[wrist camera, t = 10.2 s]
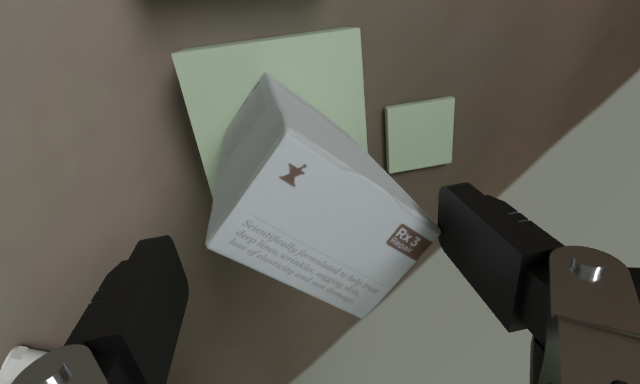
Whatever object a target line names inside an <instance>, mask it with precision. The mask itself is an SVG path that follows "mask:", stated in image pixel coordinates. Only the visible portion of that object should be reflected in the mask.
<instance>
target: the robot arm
mask: <svg viewBox="0 0 640 384" xmlns="http://www.w3.org/2000/svg"><path fill="white" fill-rule="evenodd" d="M438 227H439V228H440V230H441V234H440V235H439V237H438V238H439V242H440V245H441V247H442V249H443V250H444V252H445V253H446V254H447V256H448V257H449V258H450V259H451V261H452V262H453V263H454V264H455V266H456V267H457V268H458V269H459V270H460V272H461V273H462V274H463V276H464V277H465V278H466V279H467V281H468V282H469V283H470V284H471V286H472V287H473V288H474V289H475V291H476V292H477V293H478V294H479V296H480V297H481V298H482V299H483V301H484V302H485V303H486V304H487V306H488V307H489V308H490V309H491V311H492V312H493V313H494V314H495V316H496V317H497V318H498V319H499V321H500V322H501V323H502V324H503V326H504V327H505V328H506V330H507V331H508V332H514V331H518V330H523V329H528V330H529V331H530V332H531V333H532V334H533V336H532V341H531V352H530V384H640V268H628V267H626V266H625V265H624V264H623V263H622V262H621V261H620V260H618V259H617V258H615V257H613V256H612V255H610V254H607V253H605V252H603V251H600V250H597V249H593V248H589V247H583V246H564V245H563V244H561V243H560V242H559V241H557V240H556V239H554V238H553V237H552V236H550V235H549V234H548V233H546V232H545V231H544V230H542V229H541V228H540V227H538V226H537V225H536V224H534V223H533V222H532V221H528V219H527V218H526V217H525V216H524V215H522V214H521V213H518V212H517V210H515V209H514V208H512V207H511V206H510V205H509V204H507V203H506V202H504V201H502V200H499V199H497V198H494V197H491V196H489V195H484V194H482V193H481V192H480V191H479V190H477V189H476V188H475V187H473V186H472V185H471V184H469V183H460V184H455V185H449V186H444V187H442V188H441V189H440V191H439V204H438ZM188 296H189V289H188V282H187V278H186V275H185V272H184V269H183V267H182V264H181V261H180V259H179V256H178V253H177V250H176V248H175V245H174V242H173V240H172V239H171V237H170V236H168V235H166V236H160V237H155V238H149V239H144V240H140V241H139V242H138V243H137V245H136V247H135V249H134V250H133V252H132V254H131V256H130V258H129V259H128V260H125V261H122V262H121V263H120V264H118V265H117V266H116V267H115V268H114V269H113V270H112V271H111V272H110V273H108V274H107V276H106V277H105V279H104V281H103V282H102V284H101V286H100V287H99V291H98V292H96V294H95V295H94V297H93V299H92V300H91V302H92V303H91V304H89V305H88V307H87V309H86V310H85V312H84V313H83V315H82V317H81V318H80V320H79V322H78V323H77V325H76V327H75V328H74V330H73V332H72V333H71V335H70V336H69V338H68V340H67V341H66V343H65V345H64V346H63V347H60V348H57V349H55V350H53V351H50V352H48V353H46V354H45V355H43V356H41V357H40V358H38V359H36V360H35V361H34V362H32V363H31V364H30V365H28V366H27V367H26V368H25V369H24V370H23V371H22V372H21V373H20V374H19V375H18V376H17V377H16V378H15V379H14V381H13V382H12V383H11V384H166V381H167V378H168V374H169V370H170V366H171V362H172V359H173V355H174V351H175V347H176V343H177V339H178V336H179V332H180V328H181V324H182V320H183V317H184V313H185V309H186V305H187V301H188Z"/></svg>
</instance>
